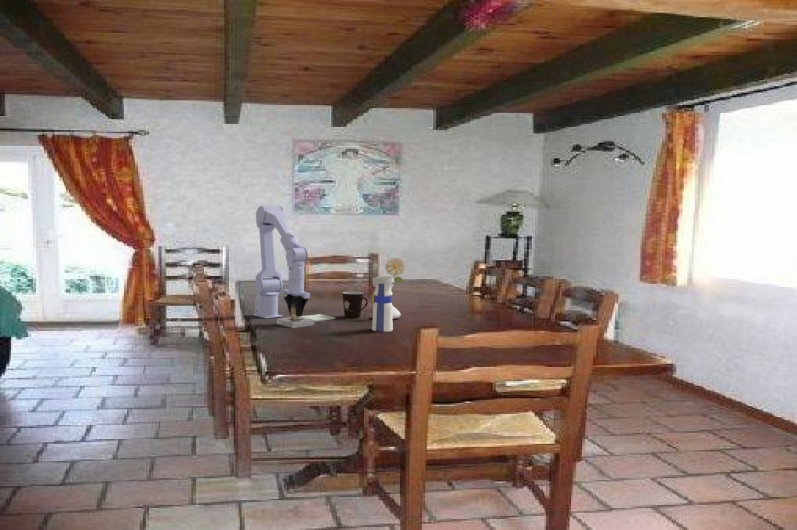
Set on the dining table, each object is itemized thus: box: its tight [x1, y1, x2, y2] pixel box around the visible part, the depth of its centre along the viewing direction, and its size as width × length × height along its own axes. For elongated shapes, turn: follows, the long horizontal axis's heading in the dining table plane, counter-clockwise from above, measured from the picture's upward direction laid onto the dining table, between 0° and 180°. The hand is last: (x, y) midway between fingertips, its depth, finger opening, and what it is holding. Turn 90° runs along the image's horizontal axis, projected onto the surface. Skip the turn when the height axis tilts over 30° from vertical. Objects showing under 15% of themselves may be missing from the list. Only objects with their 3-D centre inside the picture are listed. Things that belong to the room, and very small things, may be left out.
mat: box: [301, 313, 336, 322], centre depth 255 cm, size 10×10×1 cm
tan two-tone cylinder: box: [290, 304, 301, 321], centre depth 240 cm, size 4×4×7 cm
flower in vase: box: [384, 257, 406, 320], centre depth 259 cm, size 13×11×25 cm
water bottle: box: [371, 261, 395, 332], centre depth 234 cm, size 8×9×25 cm
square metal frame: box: [276, 316, 316, 329], centre depth 241 cm, size 10×10×2 cm
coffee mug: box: [342, 291, 369, 319], centre depth 259 cm, size 12×9×10 cm
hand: (295, 315), depth 240 cm, fingers closed on tan two-tone cylinder, 4 cm apart
